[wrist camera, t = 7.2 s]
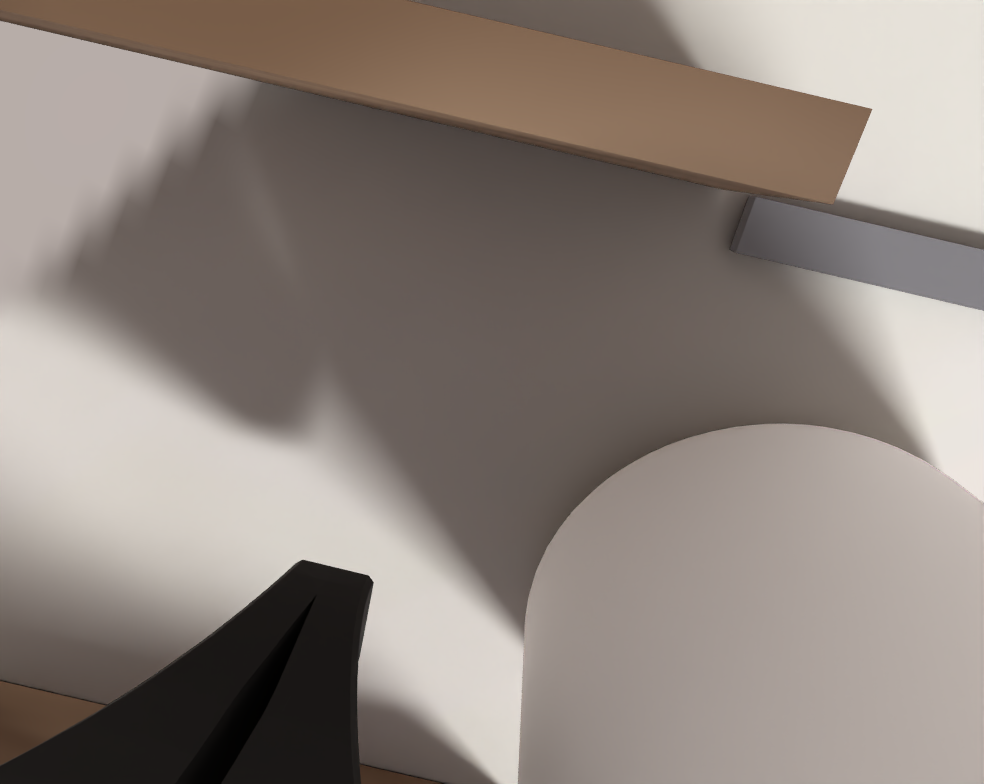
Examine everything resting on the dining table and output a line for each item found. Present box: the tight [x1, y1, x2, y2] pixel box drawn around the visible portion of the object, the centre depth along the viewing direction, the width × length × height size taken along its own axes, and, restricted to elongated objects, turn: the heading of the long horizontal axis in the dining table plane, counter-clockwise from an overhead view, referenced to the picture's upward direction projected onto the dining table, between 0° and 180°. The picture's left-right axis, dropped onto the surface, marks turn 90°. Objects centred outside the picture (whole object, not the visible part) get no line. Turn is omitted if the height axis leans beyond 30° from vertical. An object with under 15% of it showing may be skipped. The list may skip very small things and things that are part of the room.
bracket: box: [730, 196, 984, 311], centre depth 14 cm, size 17×10×1 cm, turn 168°
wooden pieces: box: [0, 0, 872, 784], centre depth 11 cm, size 19×16×6 cm
